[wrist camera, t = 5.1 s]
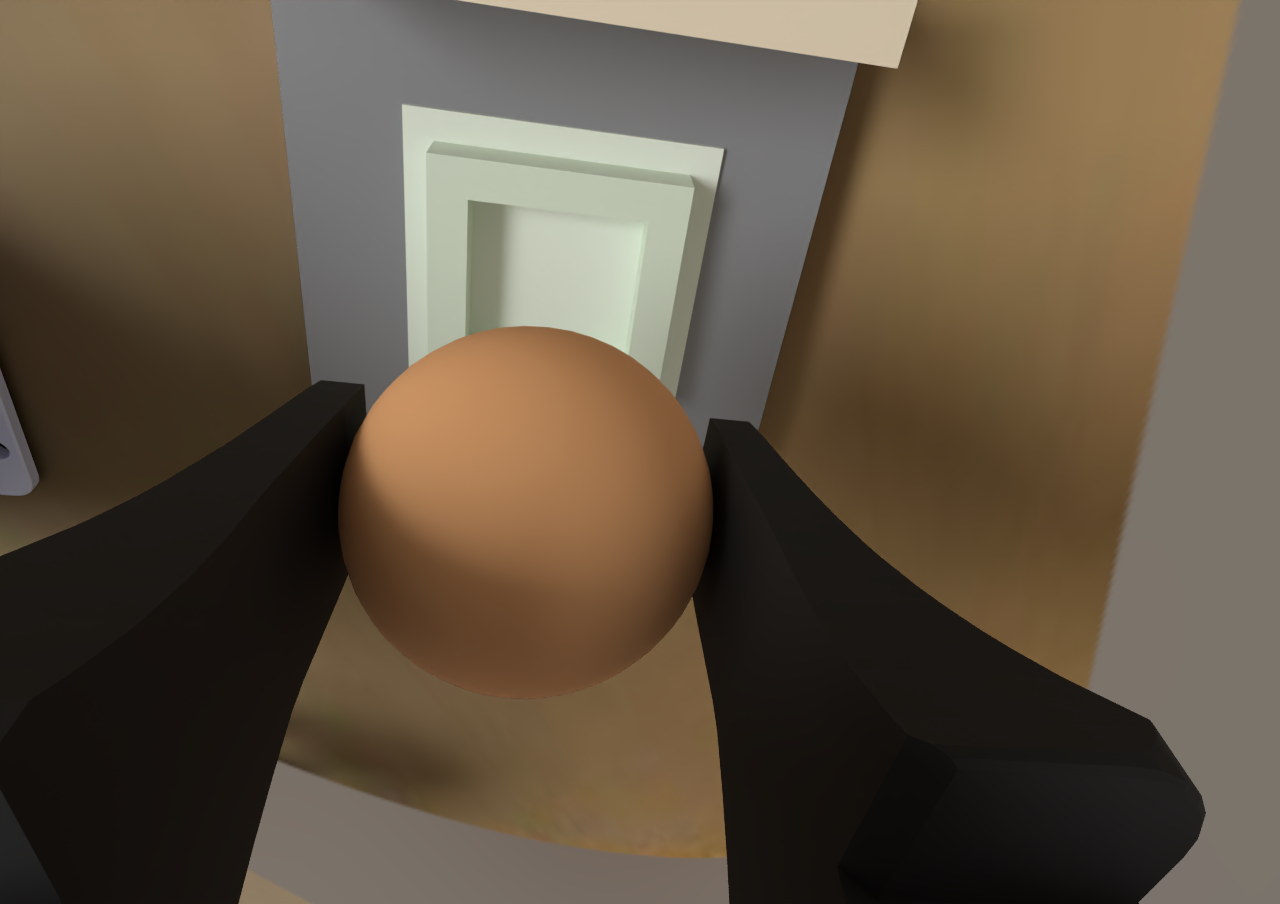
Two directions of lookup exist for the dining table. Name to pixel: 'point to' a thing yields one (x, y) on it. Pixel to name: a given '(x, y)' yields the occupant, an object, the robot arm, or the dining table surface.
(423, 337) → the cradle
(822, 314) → the dining table surface
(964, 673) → the robot arm
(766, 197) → the board
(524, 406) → the ball
